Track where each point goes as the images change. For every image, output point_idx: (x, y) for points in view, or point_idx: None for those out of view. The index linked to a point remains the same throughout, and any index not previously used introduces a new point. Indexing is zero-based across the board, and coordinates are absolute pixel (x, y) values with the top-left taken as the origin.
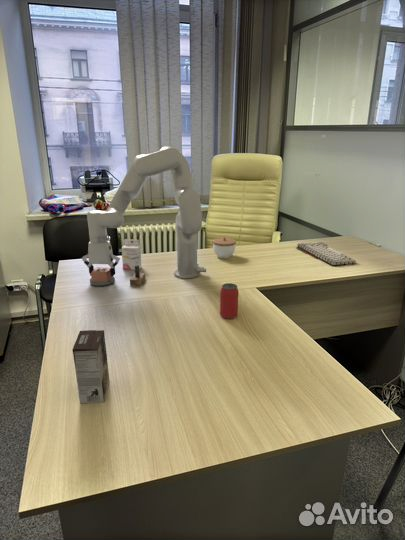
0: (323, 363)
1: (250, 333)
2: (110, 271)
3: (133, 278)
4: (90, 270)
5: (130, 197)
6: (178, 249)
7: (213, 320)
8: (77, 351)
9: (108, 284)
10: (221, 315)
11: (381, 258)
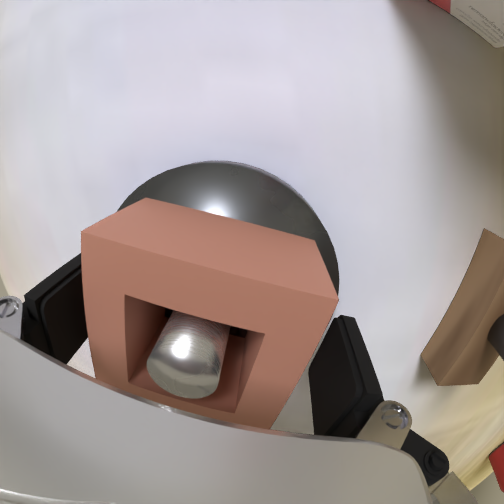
0: (482, 479)
1: (480, 469)
2: (314, 414)
3: (465, 365)
4: (69, 352)
5: None
6: None
7: (473, 464)
8: None
9: None
10: (489, 457)
11: None
